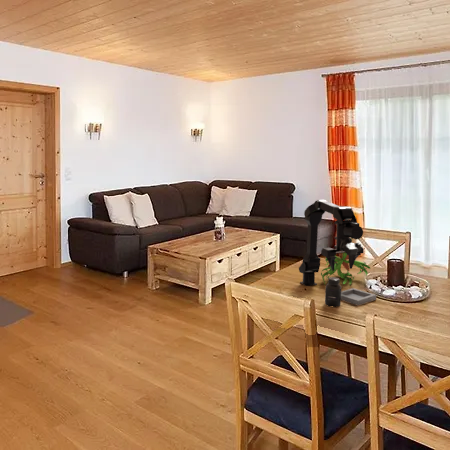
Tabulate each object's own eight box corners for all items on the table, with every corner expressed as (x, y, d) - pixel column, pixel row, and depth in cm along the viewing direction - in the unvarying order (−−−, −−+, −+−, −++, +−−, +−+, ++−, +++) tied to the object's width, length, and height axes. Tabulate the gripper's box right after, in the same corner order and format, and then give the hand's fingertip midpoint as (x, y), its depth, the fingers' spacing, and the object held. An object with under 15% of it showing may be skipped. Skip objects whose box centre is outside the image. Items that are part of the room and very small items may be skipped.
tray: (334, 297, 207) (334, 293, 207) (352, 292, 215) (353, 288, 214) (357, 305, 197) (358, 300, 197) (376, 299, 204) (376, 294, 204)
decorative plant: (354, 281, 250) (371, 297, 220) (310, 273, 250) (321, 287, 220) (365, 236, 247) (384, 246, 217) (320, 227, 246) (333, 236, 217)
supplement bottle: (329, 308, 194) (330, 281, 192) (322, 303, 201) (322, 277, 199) (343, 306, 196) (344, 279, 194) (335, 301, 202) (336, 275, 200)
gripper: (335, 240, 187) (334, 276, 190) (372, 236, 193) (370, 272, 196) (320, 235, 198) (320, 270, 200) (356, 232, 204) (355, 266, 206)
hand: (341, 269), depth 200 cm, fingers open, 9 cm apart
